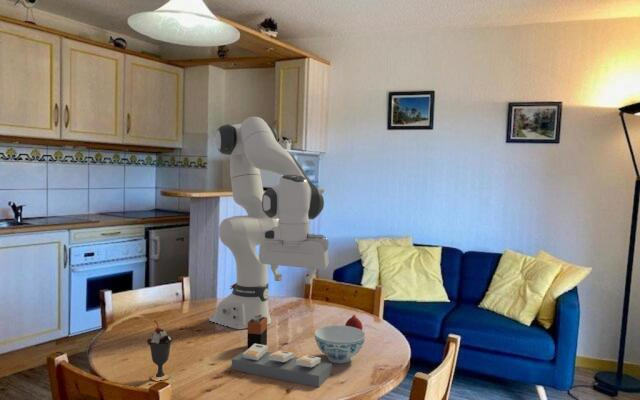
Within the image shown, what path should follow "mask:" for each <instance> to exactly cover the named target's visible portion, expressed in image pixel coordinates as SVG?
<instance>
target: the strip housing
mask: <svg viewBox="0 0 640 400" xmlns="http://www.w3.org/2000/svg"><path fill="white" fill-rule="evenodd" d="M247 350H248V349H247V348H246V350H244V351H242V352H241V353H239V354H238V355H236V356H234V357H232V358H231V370H232V369H233V370H232V371H235V370H237V372H240V371H241V373H245V372H246V374H251V375H255V376H256V375H257V376H260V377H266V378H270V379H276V380H280V381H285V382H290V383H296V384H300V385H305V386H309V387H310V386H311V387H315V388H320V387H321V386H322V385H323V384H324V383H325V382H326V381H327V380H328V379H329V377H331V376H332V372H333V369H332V367H333V364H332V362H325V361H320V363H318V364H316V366H315V367H314V366H313V367H306V366H301V365H296V360H297V359H299V358H300V357H298V356H294V358H292V359H289V361H288V362H287V361H285V362H280V361H274V360H269V355H270V354H273V353H274V352H269V351H267V352H266V353H265V354H263V356H262V357H260V358H259V359H258V360H252V359H247V358H243V353H244V352H246V351H247Z"/></svg>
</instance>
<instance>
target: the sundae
mask: <svg viewBox="0 0 640 400" xmlns="http://www.w3.org/2000/svg"><path fill="white" fill-rule="evenodd" d="M153 322H154V323H155V324H156V325H157V327H156V328H155V329H154V333H153V334H152V335H151V337H150V338H148V339H146V343H147V345H148V346H150V354H151V360H152V362H153V363H154V364H155V365H156V366H157V373H155V374H156V377H162V376H164V375H165V374H164V373H165V372H164V371H163V367H164V364H165V363H167V362H168V360H169V358H170V357H169V356H170V353H171V352H170V351H171V346H172V345H171V344H172V342H173V341H174V338H173V337H172V336H169V335H168V334H167V331H165V329H162V328H160V327H159V323H158V322H157V321H156V320H154V321H153Z"/></svg>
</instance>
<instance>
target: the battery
mask: <svg viewBox="0 0 640 400" xmlns="http://www.w3.org/2000/svg"><path fill="white" fill-rule="evenodd" d="M246 338H247V342H246V343H247V347H246V350H247V349H249V348H250V347H251V346H252V345H253V344H261V345H267V346H268V325H267V317H262V315H257V316H255V317H254V318H252V319H251V320H250V321H249V322H248V328H247V337H246Z"/></svg>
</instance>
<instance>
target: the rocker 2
mask: <svg viewBox="0 0 640 400" xmlns="http://www.w3.org/2000/svg"><path fill="white" fill-rule="evenodd" d="M272 353H273V354H270V355H269V360H274V361H280V362H285V361H287V362H288V361H289V359H292V358H294V357H295V353H294V352H289V351H285V350H278V351H276V352H272Z"/></svg>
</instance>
